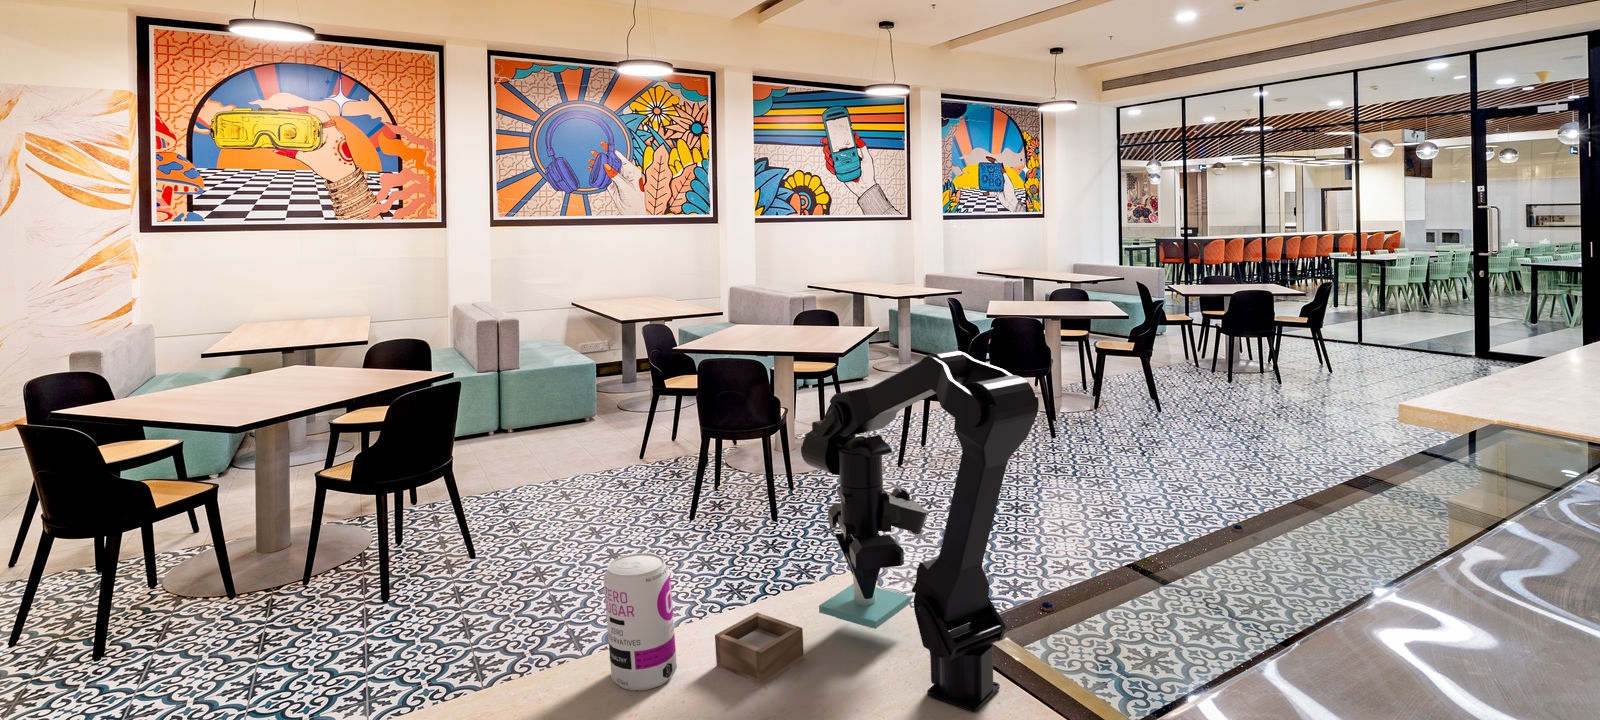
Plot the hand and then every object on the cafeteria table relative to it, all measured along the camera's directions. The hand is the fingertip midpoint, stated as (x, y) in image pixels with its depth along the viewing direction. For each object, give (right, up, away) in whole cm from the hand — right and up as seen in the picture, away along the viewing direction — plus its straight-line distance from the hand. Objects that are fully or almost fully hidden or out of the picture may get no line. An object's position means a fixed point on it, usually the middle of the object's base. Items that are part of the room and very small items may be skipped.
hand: (865, 593), depth 117 cm
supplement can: (-29, -9, -8) cm, 31 cm away
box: (-14, -8, -5) cm, 17 cm away
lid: (0, -2, 0) cm, 2 cm away
